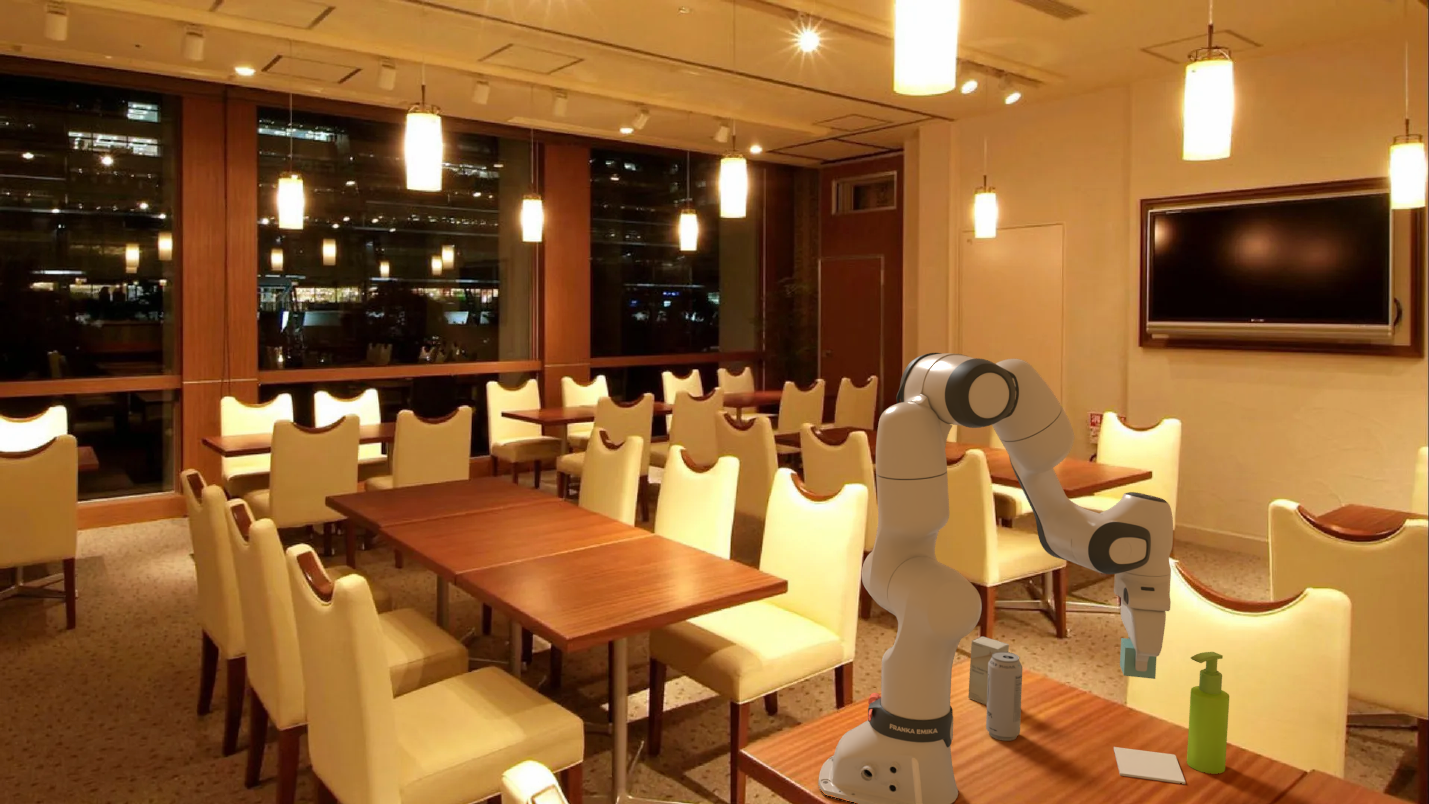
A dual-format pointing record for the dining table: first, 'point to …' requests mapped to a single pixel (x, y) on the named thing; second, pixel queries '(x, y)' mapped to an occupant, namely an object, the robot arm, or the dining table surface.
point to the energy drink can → (1004, 696)
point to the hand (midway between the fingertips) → (1137, 663)
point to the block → (1129, 661)
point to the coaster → (1148, 765)
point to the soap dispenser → (1208, 718)
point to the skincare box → (982, 666)
